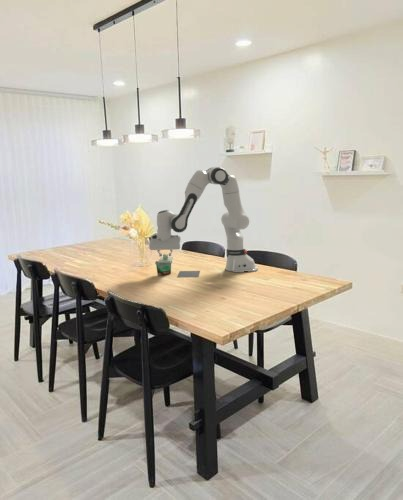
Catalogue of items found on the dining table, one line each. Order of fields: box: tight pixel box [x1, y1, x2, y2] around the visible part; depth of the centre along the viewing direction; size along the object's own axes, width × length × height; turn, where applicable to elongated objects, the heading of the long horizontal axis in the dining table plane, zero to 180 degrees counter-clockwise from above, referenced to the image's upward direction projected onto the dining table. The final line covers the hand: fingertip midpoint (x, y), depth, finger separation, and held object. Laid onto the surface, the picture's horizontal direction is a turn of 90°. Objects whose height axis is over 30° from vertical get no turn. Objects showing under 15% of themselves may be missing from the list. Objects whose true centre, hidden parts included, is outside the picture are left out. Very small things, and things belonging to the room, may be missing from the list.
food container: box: [155, 260, 173, 277], centre depth 261 cm, size 12×6×10 cm, turn 130°
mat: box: [176, 270, 201, 279], centre depth 261 cm, size 14×17×1 cm
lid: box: [158, 253, 174, 263], centre depth 259 cm, size 8×13×4 cm, turn 177°
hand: (165, 256), depth 259 cm, fingers open, 5 cm apart
